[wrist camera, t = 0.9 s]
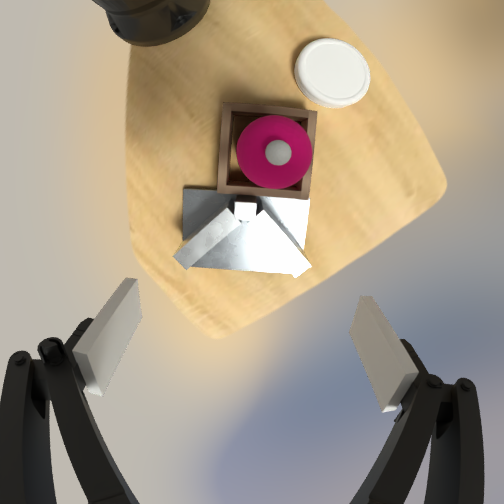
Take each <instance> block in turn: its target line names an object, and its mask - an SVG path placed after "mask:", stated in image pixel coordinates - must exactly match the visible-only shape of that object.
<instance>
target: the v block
mask: <svg viewBox="0 0 504 504" xmlns="http://www.w3.org/2000/svg"><path fill="white" fill-rule="evenodd" d="M309 203H310V198H309V200H299V199H288V198H277V197H265V196H252V195H237V194H221V193H217V189H199V188H185V189H183V242H182V243H181V245H180V246H179V248H178V249H177V251H176V252H175V254H174V255H173V257H174V258H175V259H176V260H177V261H178V262H179V263H180V264H181V265H182V266H183V267H184V268H185V269H186V270H187V269H188V268H189V267H202V268H215V269H229V270H243V271H258V272H273V273H290V274H293V275H294V277H295V278H296V277H297V276H298V275H300V274H301V273H302V272H304V271H305V270H306V269H308V268H309V267H310V266H311V265H310V263H309V261H308V259H307V257H306V254H305V252H304V250H303V248H304V241H305V234H306V226H307V219H308V211H309Z"/></svg>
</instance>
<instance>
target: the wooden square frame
mask: <svg viewBox="0 0 504 504" xmlns="http://www.w3.org/2000/svg"><path fill="white" fill-rule="evenodd" d="M270 115H278V116H283V117H287V118H290V119H292V120H293V121H301V127H302V128H303V129H304V130H305V131H306V133H307V134H308V136H309V139H310V141H311V145H312V160H311V164H310V166H309V169H308V171H307V172H306V174H305V175H304V176H303V177H302V178H301V179H300V180H299V181H298V182H296V183H295V186H289V187H286V188H282V189H269V188H265V187H261V186H259V185H257V184H255V183H253V182H242V181H229V174H230V159H231V144H232V131H233V118H234V116H251V117H264V116H270ZM316 122H317V111H312V110H305V109H298V108H290V107H281V106H271V105H260V104H246V103H225V102H223V110H222V123H221V136H220V151H219V167H218V185H217V193H221V194H237V195H252V196H265V197H277V198H288V199H299V200H309V192H310V183H311V174H312V165H313V155H314V145H315V134H316Z"/></svg>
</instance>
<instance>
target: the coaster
mask: <svg viewBox="0 0 504 504" xmlns="http://www.w3.org/2000/svg"><path fill="white" fill-rule="evenodd" d="M294 74H295V79H296V82H297V84H298V87H299V88H300V90H301V91H302V93H303V94H304V95H305V96H306V97H307V98H308V99H310V100H311V101H313V102H314V103H316V104H318V105H321V106H323V107H327V108H343V107H346V106H349V105H351V104H354V103H356V102H358V101H359V100H360V99H361V98H362V97H363V96H364V95H365V93H366V92H367V90H368V87H369V84H370V71H369V67H368V64H367V62H366V60H365V58H364V57H363V56H362V54H361V53H360V52H359V51H358V50H357V49H356V48H354V47H353V46H352V45H350V44H348V43H346V42H344V41H341V40H338V39H333V38H323V39H318V40H315V41H313V42H311V43H309V44H308V45H306V46H305V47H304V48H303V50H302V51H301V53H300V54H299V56H298V58H297V60H296V63H295V69H294Z"/></svg>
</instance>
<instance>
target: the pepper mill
mask: <svg viewBox="0 0 504 504" xmlns="http://www.w3.org/2000/svg"><path fill="white" fill-rule="evenodd" d="M236 154H237V160H238V164H239V166H240V168H241V170H242V172H243V173H244V174H245V176H246V177H247V178H248V179H249V180H251V181H252V182H253V183H255V184H257V185H259V186H261V187H265V188H269V189H282V188H286V187H289V186H291V185H293V184H295V183H296V182H298V181H299V180H300V179H301V178H302V177H303V176H304V175H305V174H306V172H307V171H308V169H309V166H310V164H311V160H312V145H311V141H310V139H309V136H308V134H307V133H306V131H305V130H304V129H303V128H302V127H301V126H300V125H299V124H298V123H296V122H295V121H293V120H292V119H290V118H287V117H283V116H278V115H270V116H264V117H261V118H259V119H256V120H255V121H253V122H251V123H250V124H249V125H248V126H247V127H246V128H245V129H244V130H243V132H242V133H241V135H240V137H239V139H238V142H237V147H236Z"/></svg>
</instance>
